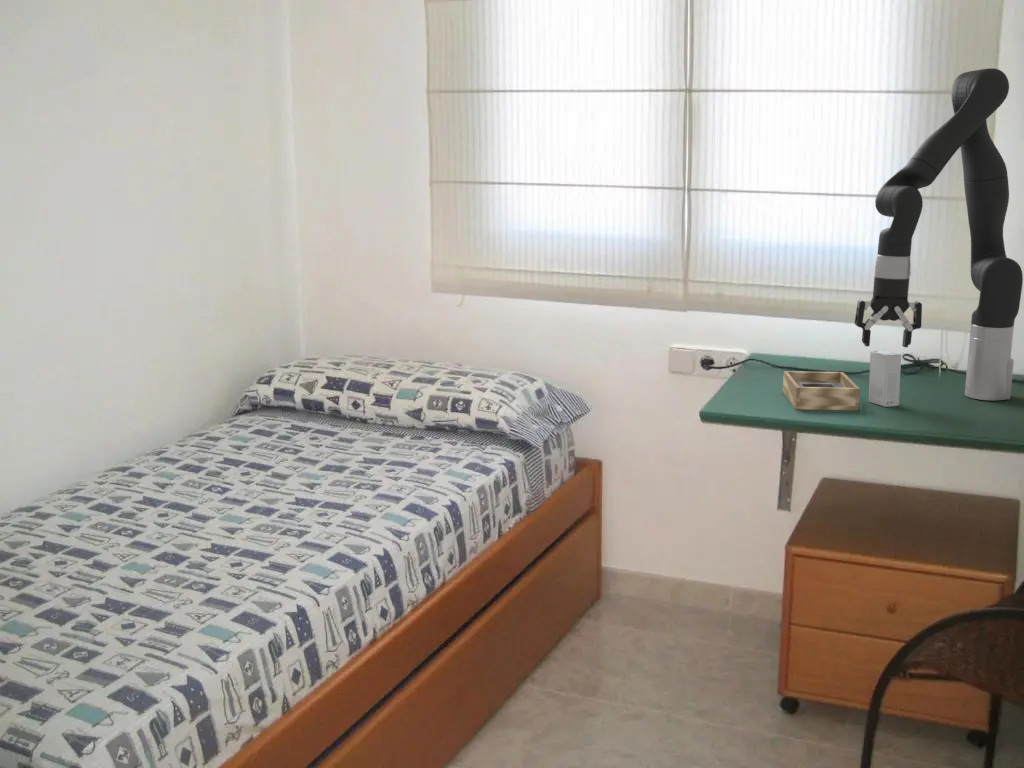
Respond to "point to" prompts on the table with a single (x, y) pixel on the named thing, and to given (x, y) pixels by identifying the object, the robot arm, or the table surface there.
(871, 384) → the skincare box
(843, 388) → the crate
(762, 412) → the table surface
